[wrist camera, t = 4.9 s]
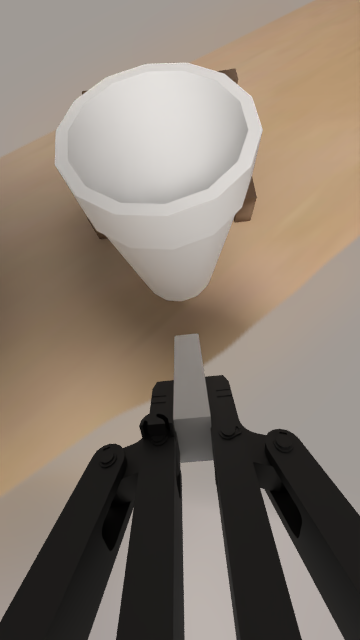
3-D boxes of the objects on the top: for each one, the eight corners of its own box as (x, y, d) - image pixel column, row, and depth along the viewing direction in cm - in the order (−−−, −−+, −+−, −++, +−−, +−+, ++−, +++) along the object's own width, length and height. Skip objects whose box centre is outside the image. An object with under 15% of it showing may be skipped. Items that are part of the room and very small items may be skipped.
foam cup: (149, 218, 26) (104, 52, 14) (239, 239, 24) (280, 73, 12) (114, 302, 23) (18, 192, 11) (211, 331, 22) (227, 240, 10)
